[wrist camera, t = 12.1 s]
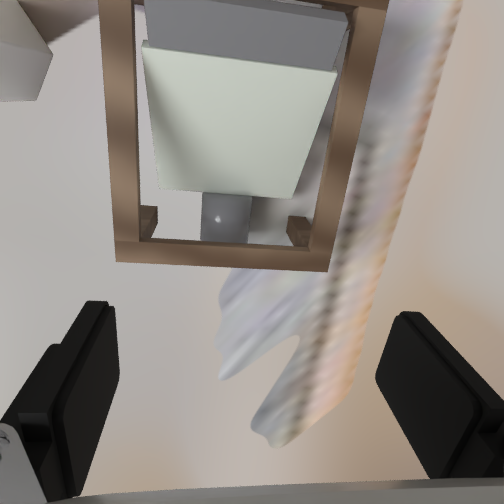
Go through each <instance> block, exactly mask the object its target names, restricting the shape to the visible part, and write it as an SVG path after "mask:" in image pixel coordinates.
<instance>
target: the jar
mask: <svg viewBox="0 0 504 504" xmlns="http://www.w3.org/2000/svg"><path fill="white" fill-rule="evenodd" d="M52 57H53V54H52V52H51V50H50V49H49V47H48V46H47V44H46V43H45V41H44V40H43V38H42V37H41V35H40V34H39V32H38V31H37V29H36V28H35V27H34V25H33V24H32V22H31V21H30V19H29V18H28V16H27V15H26V13H25V12H24V10H23V9H22V7H21V6H20V4H19V3H18V1H17V0H0V102H5V101H34V100H36V99H37V97H38V94H39V92H40V89H41V87H42V83H43V81H44V79H45V76H46V73H47V71H48V68H49V65H50V63H51V60H52Z"/></svg>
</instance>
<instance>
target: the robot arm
mask: <svg viewBox="0 0 504 504" xmlns="http://www.w3.org/2000/svg"><path fill="white" fill-rule="evenodd" d="M119 374H120V369H119V356H118V343H117V330H116V317H115V308H114V306H109V304H108V302H107V301H87V302H86V303H85V305H84V306H83V308H82V309H81V311H80V313H79V314H78V316H77V318H76V319H75V321H74V323H73V324H72V326H71V327H70V329H69V330H68V332H67V334H66V335H65V337H64V339H63V340H62V342H61V344H52V345H50V346H49V347H48V349H47V350H46V351H45V353H44V355H43V356H42V358H41V359H40V361H39V362H38V364H37V365H36V367H35V368H34V370H33V371H32V373H31V374H30V376H29V378H28V379H27V380H26V382H25V384H24V385H23V387H22V388H21V390H20V391H19V393H18V394H17V396H16V397H15V399H14V400H13V402H12V403H11V405H10V406H9V408H8V409H7V411H6V413H5V414H4V416H3V417H2V419H1V420H0V504H504V400H503V399H501V397H500V396H499V395H498V394H497V393H496V392H495V391H494V390H493V389H492V388H491V387H490V386H489V384H488V383H487V382H486V381H485V380H484V379H483V378H482V377H481V376H480V375H479V374H478V373H477V372H476V371H475V370H474V368H473V367H471V365H470V364H469V363H468V362H467V361H466V360H465V359H464V358H463V357H462V356H461V355H460V354H459V352H458V351H456V349H455V348H454V347H453V346H452V345H451V344H450V343H449V342H448V341H447V340H446V339H445V338H444V337H443V335H442V334H441V333H440V332H439V331H438V330H437V329H436V328H435V327H434V326H433V325H432V324H431V323H430V322H429V321H428V319H427V318H426V317H425V316H424V315H423V314H422V313H420V312H411V311H410V312H409V311H403V312H401V313H400V314H399V315H398V316H396V317H395V319H394V322H393V324H392V327H391V330H390V334H389V336H388V339H387V342H386V345H385V348H384V350H383V353H382V356H381V359H380V362H379V365H378V368H377V371H376V375H375V379H376V383H377V385H378V387H379V389H380V391H381V392H382V394H383V396H384V398H385V400H386V401H387V403H388V405H389V407H390V408H391V410H392V412H393V414H394V416H395V417H396V419H397V421H398V423H399V425H400V427H401V428H402V430H403V432H404V434H405V435H406V437H407V439H408V441H409V443H410V444H411V446H412V448H413V450H414V451H415V453H416V455H417V457H418V459H419V460H420V463H421V464H422V466H423V468H424V469H425V471H426V473H427V475H428V477H429V478H430V479H422V480H421V479H420V480H392V481H391V480H390V481H365V482H364V481H363V482H336V483H313V484H312V483H311V484H287V485H263V486H241V487H219V488H198V489H175V490H160V491H144V492H129V493H114V494H102V495H94V496H85V497H78V496H80V494H81V492H82V490H83V487H84V484H85V481H86V478H87V475H88V472H89V469H90V466H91V463H92V460H93V457H94V454H95V451H96V448H97V445H98V442H99V439H100V436H101V433H102V430H103V427H104V424H105V421H106V418H107V415H108V412H109V409H110V406H111V403H112V400H113V397H114V394H115V391H116V388H117V385H118V382H119ZM76 496H77V497H76ZM73 497H76V498H73Z"/></svg>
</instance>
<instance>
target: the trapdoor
mask: <svg viewBox="0 0 504 504" xmlns="http://www.w3.org/2000/svg"><path fill="white" fill-rule="evenodd" d="M144 6H145V15H146V25H147V34H148V40H143V43H142V46H141V49H142V57H143V65H144V73H145V81H146V89H147V96H148V105H149V112H150V120H151V128H152V136H153V144H154V152H155V159H156V167H157V175H158V182H159V188H160V189H171V190H185V191H196V192H209V193H222V194H235V195H247V196H259V197H272V198H285V199H292V196H293V194H294V191H295V188H296V186H297V183H298V180H299V177H300V175H301V172H302V169H303V167H304V164H305V161H306V158H307V156H308V153H309V150H310V148H311V145H312V142H313V139H314V137H315V134H316V131H317V129H318V126H319V123H320V120H321V118H322V115H323V112H324V110H325V107H326V104H327V101H328V99H329V96H330V93H331V91H332V88H333V85H334V82H335V80H336V77H337V74H338V73H337V69H336V66H333V65H334V62H335V59H336V56H337V54H338V51H339V48H340V45H341V42H342V39H343V36H344V33H345V31H346V28H347V25H348V20H347V18H346V15H345V12H338V11H332V10H326V9H320V8H313V7H307V6H301V5H295V4H288V3H282V2H276V1H270V0H144Z"/></svg>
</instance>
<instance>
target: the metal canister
mask: <svg viewBox="0 0 504 504" xmlns="http://www.w3.org/2000/svg"><path fill="white" fill-rule="evenodd" d="M251 206H252V196H247V195H235V194H222V193H209V192H203V194H202V215H201V236H200V239H201V241H211V242H228V243H245V244H247V242H248V233H249V224H250V215H251Z"/></svg>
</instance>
